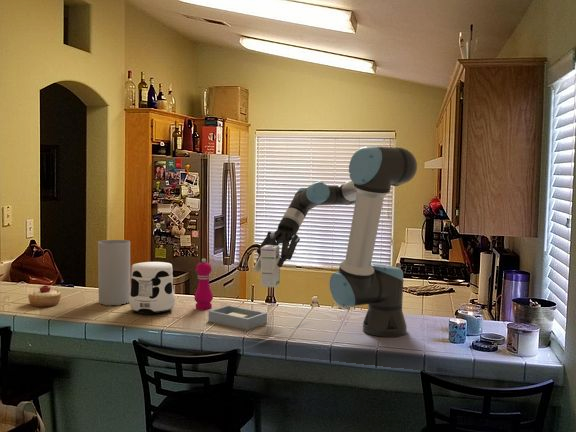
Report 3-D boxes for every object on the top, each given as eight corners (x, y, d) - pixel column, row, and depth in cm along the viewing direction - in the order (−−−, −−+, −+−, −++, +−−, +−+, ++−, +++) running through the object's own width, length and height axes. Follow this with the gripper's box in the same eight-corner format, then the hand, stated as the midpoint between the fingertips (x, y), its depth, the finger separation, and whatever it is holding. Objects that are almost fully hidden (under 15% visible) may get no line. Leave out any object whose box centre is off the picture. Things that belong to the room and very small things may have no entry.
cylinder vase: (123, 297, 249) (122, 239, 246) (135, 303, 239) (135, 242, 237) (94, 301, 241) (93, 241, 238) (105, 307, 231) (105, 244, 229)
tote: (266, 325, 210) (267, 312, 210) (247, 332, 201) (248, 319, 201) (228, 316, 220) (228, 305, 220) (208, 323, 211) (208, 311, 211)
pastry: (66, 302, 240) (66, 281, 240) (51, 309, 228) (52, 286, 228) (38, 300, 241) (38, 279, 241) (22, 307, 230) (22, 284, 229)
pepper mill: (214, 309, 231) (215, 259, 229) (196, 311, 228) (196, 260, 226) (210, 305, 237) (210, 256, 235) (192, 306, 235) (192, 257, 233)
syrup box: (276, 287, 211) (276, 247, 209) (260, 286, 212) (260, 246, 210) (279, 284, 216) (280, 245, 214) (264, 283, 217) (264, 244, 216)
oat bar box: (247, 322, 211) (247, 315, 210) (240, 324, 207) (240, 317, 207) (232, 319, 215) (232, 312, 214) (225, 321, 211) (225, 314, 211)
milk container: (165, 303, 239) (165, 260, 238) (181, 313, 225) (181, 266, 223) (123, 308, 230) (122, 263, 228) (137, 319, 216) (137, 270, 214)
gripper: (316, 231, 219) (291, 281, 207) (273, 226, 230) (247, 274, 219) (309, 218, 214) (282, 269, 202) (265, 214, 225) (238, 262, 214)
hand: (264, 271), depth 211 cm, fingers closed on syrup box, 7 cm apart
